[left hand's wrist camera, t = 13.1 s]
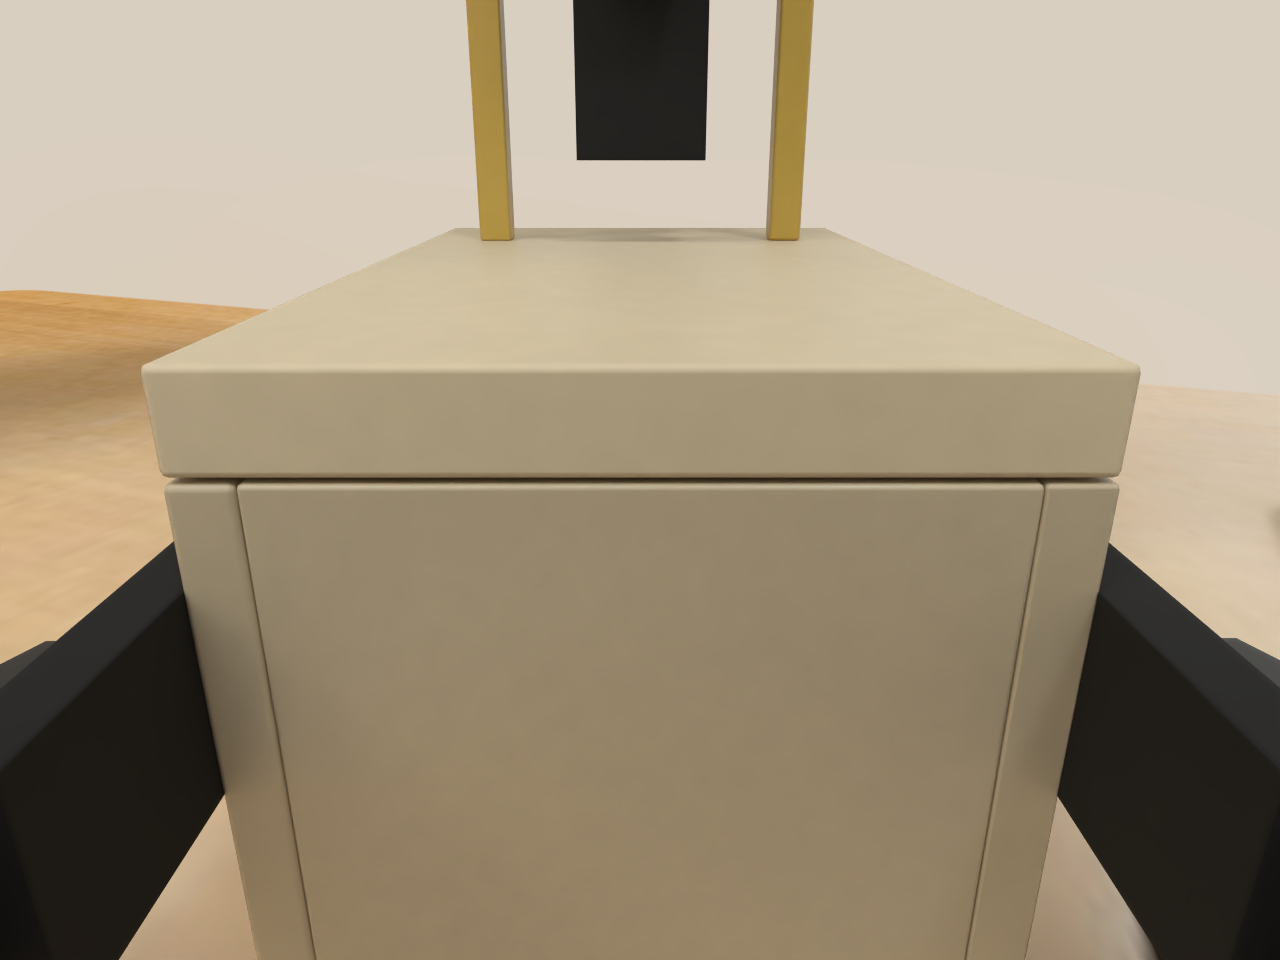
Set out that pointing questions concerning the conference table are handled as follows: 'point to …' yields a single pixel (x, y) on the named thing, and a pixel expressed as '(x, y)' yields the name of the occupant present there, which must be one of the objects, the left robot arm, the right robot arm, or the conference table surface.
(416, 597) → the chest
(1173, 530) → the conference table surface
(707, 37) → the right robot arm
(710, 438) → the lid
